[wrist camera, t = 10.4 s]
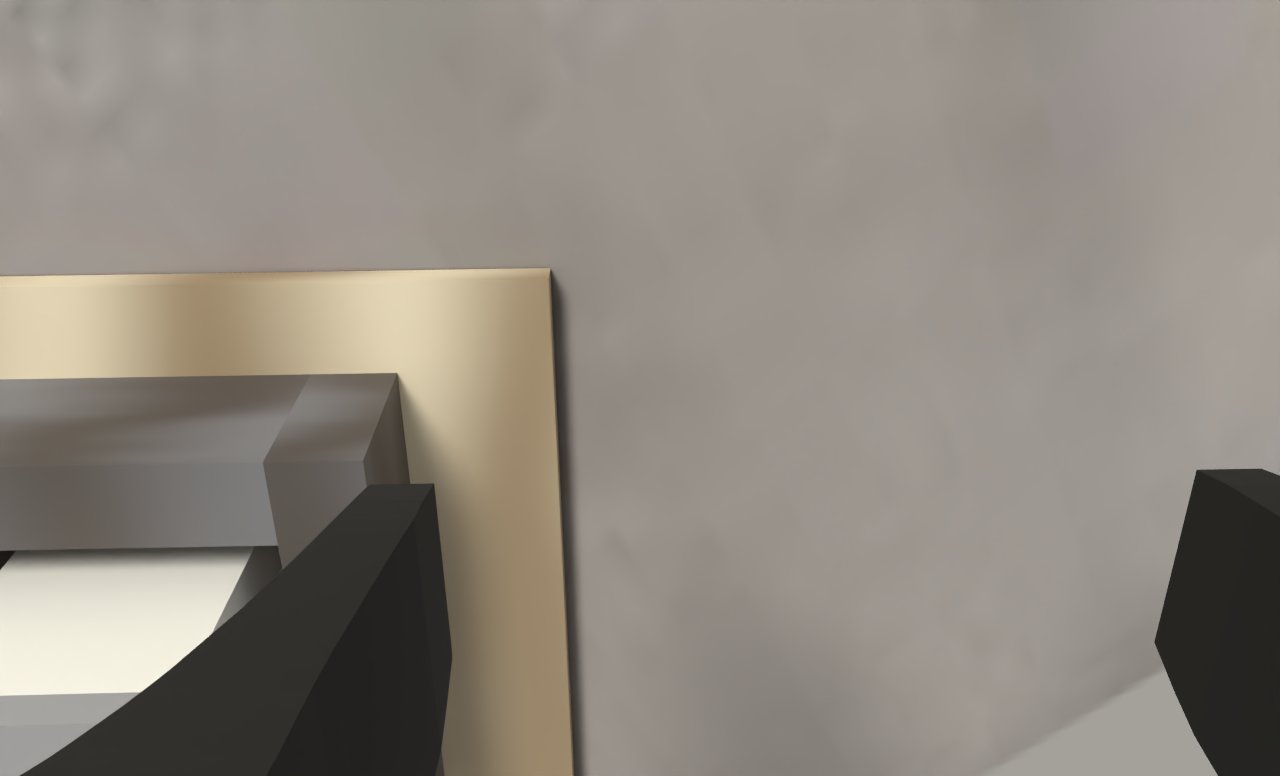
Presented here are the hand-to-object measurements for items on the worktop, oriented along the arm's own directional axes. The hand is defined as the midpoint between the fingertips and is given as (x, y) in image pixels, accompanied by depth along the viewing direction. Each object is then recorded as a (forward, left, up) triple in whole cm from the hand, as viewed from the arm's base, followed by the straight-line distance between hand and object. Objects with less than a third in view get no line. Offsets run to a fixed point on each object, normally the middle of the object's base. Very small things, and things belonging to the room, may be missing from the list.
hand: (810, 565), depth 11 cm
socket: (+10, +7, -9) cm, 15 cm away
